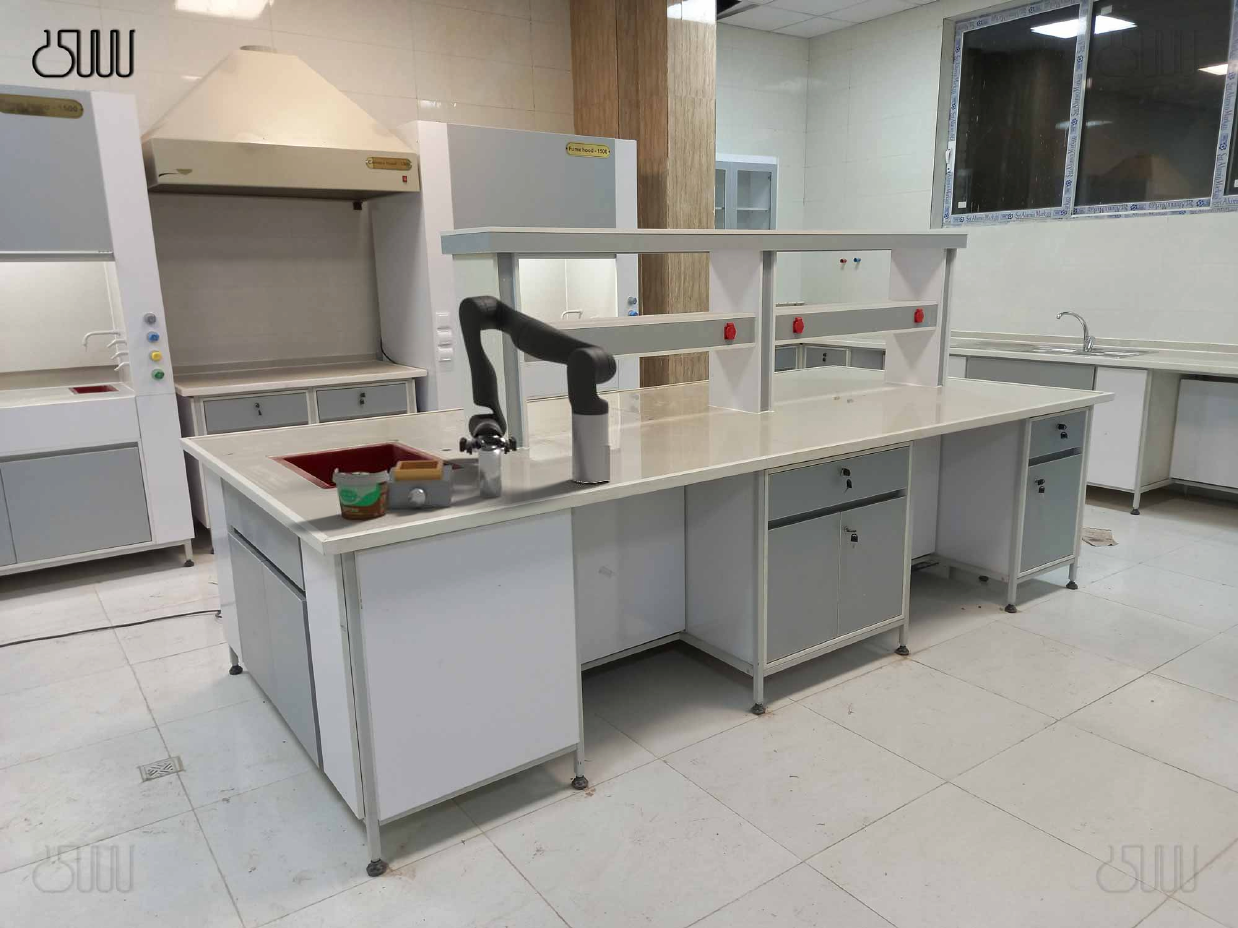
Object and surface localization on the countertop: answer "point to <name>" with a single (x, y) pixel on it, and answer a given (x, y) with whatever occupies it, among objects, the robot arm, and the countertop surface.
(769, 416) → the countertop surface
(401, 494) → the box
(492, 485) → the spout can
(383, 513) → the food container
